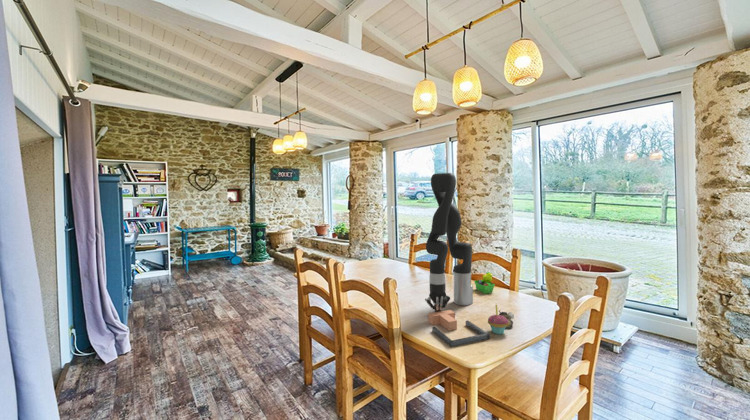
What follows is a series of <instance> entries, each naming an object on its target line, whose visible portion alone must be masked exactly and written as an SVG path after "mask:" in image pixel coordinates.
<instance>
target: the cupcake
mask: <svg viewBox="0 0 750 420" xmlns="http://www.w3.org/2000/svg"><path fill="white" fill-rule="evenodd" d="M498 310H499V309H498V304H495V314H493V315H490V316H489V317H488V318H487V319H488V320H487V324H489V326H490V329H491V331H492V332H493V334H497V335H503V334H504V332H505V330H506V329H505V328H506V327H507V326H508V325H509V321H508V319H506V318H505V317H504V316H501V315H499V313H498V312H499V311H498Z"/></svg>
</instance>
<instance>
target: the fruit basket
mask: <svg viewBox="0 0 750 420" xmlns="http://www.w3.org/2000/svg"><path fill="white" fill-rule="evenodd" d="M492 281H493V274H492V272H489V271H487V272H486V273H485V274H483V275H482V279H480V280H474V281H473V282H474V284H475V288H476V290H477V291H479V292H481V293H483V294H492V293H493V292H494V288H495V286H496V285H495V283H492Z"/></svg>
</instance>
